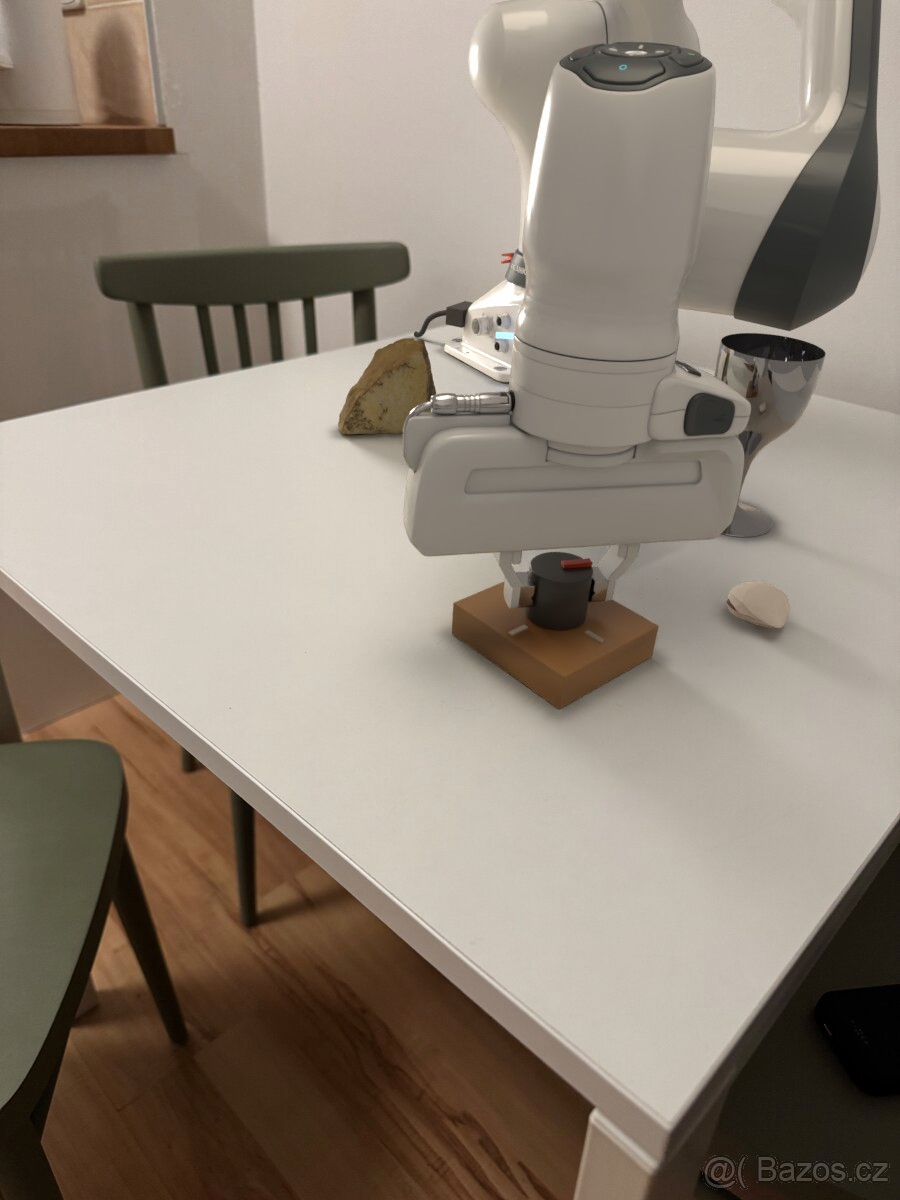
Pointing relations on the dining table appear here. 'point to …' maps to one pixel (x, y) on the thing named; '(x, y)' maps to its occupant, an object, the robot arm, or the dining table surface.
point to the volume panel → (554, 644)
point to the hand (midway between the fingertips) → (557, 600)
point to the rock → (389, 389)
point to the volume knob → (559, 590)
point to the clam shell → (759, 604)
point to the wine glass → (766, 399)
